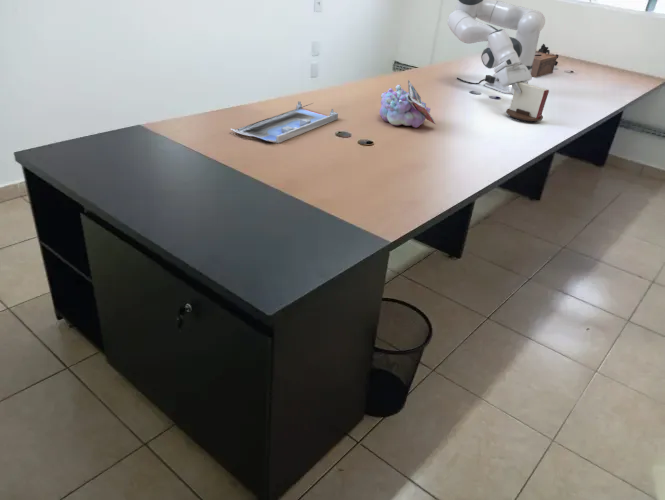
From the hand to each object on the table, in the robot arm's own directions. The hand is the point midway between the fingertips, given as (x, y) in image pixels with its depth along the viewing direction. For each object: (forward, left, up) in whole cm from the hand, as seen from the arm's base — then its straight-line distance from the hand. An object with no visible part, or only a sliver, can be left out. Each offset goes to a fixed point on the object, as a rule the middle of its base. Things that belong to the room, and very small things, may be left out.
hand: (522, 92), depth 243 cm
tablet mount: (-60, +144, -11) cm, 156 cm away
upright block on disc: (+4, 0, -9) cm, 10 cm away
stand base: (+4, 0, -11) cm, 11 cm away
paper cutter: (-39, -103, -11) cm, 111 cm away
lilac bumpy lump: (-19, -57, -11) cm, 61 cm away
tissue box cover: (-43, +101, -11) cm, 110 cm away
